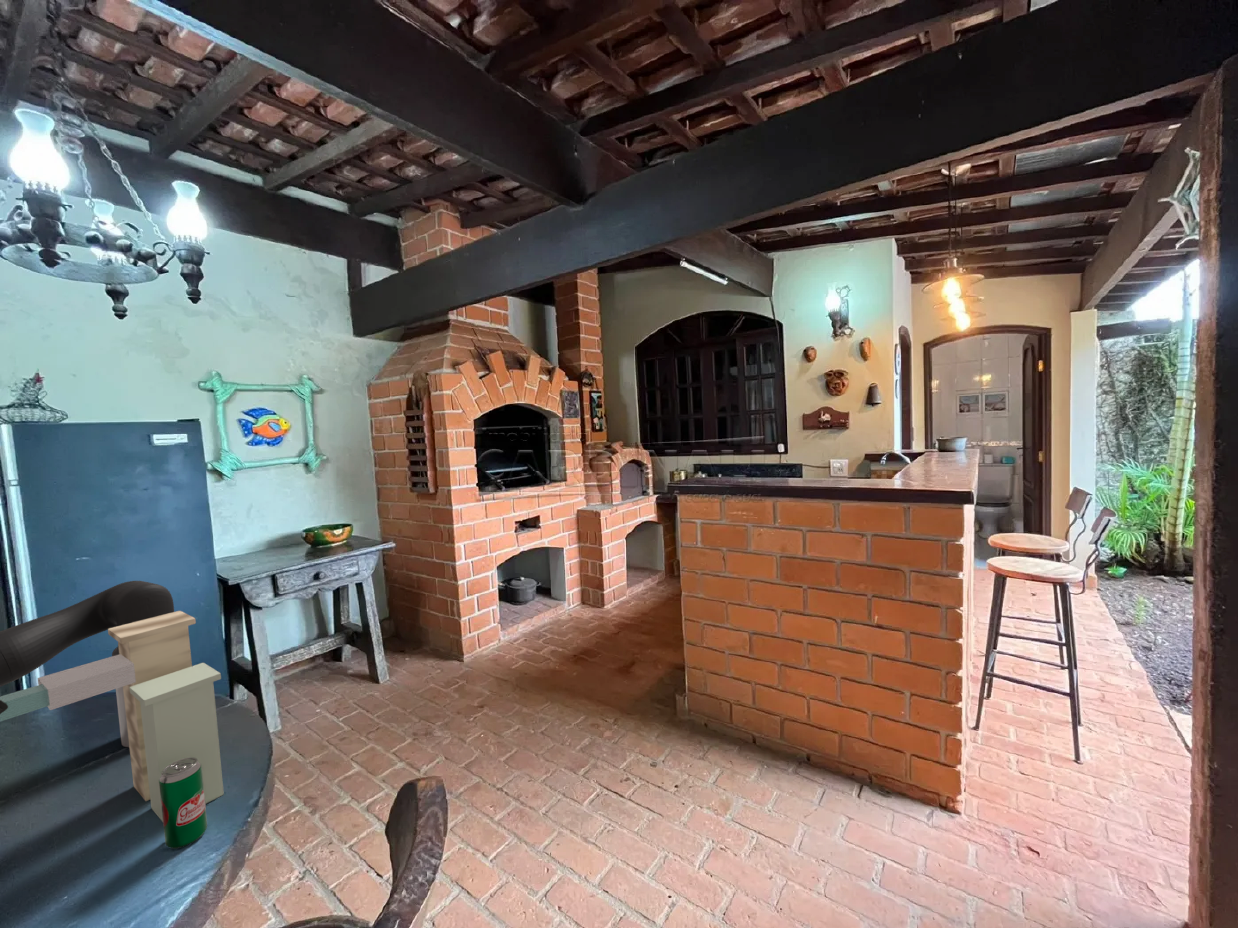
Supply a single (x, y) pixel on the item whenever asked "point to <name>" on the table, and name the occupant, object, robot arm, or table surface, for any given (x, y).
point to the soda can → (183, 802)
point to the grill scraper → (70, 686)
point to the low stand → (181, 726)
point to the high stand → (150, 673)
